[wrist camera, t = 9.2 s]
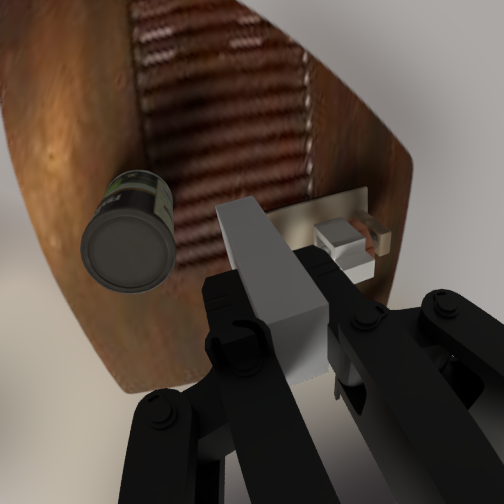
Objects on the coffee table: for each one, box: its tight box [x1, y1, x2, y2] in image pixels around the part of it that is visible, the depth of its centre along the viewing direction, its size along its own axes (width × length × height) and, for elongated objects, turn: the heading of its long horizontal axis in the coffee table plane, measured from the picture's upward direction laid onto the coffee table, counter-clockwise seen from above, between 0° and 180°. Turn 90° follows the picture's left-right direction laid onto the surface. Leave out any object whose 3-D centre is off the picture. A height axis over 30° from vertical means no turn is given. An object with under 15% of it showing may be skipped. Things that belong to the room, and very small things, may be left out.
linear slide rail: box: [265, 186, 391, 256], centre depth 47 cm, size 22×12×9 cm, turn 100°
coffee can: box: [80, 170, 176, 294], centre depth 35 cm, size 10×10×14 cm
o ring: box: [347, 218, 375, 258], centre depth 45 cm, size 2×8×8 cm, turn 10°
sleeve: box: [313, 217, 375, 284], centre depth 44 cm, size 5×7×10 cm
